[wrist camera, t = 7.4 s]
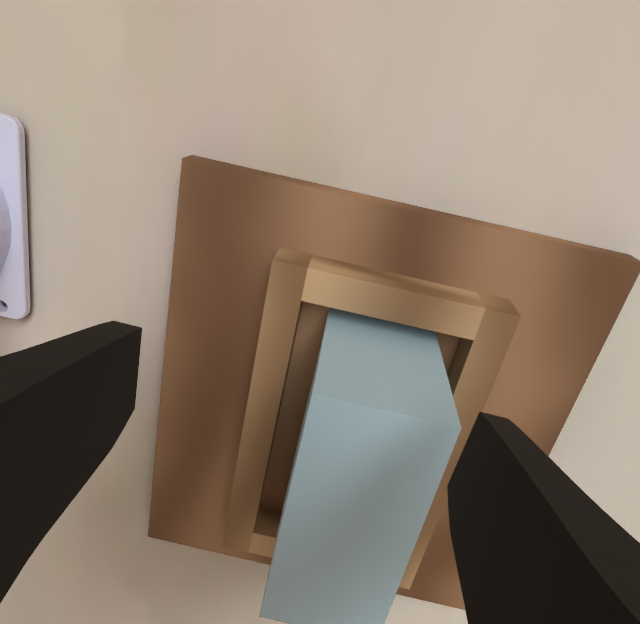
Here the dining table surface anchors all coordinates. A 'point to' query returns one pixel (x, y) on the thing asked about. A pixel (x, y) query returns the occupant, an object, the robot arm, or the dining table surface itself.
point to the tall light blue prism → (361, 472)
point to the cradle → (362, 298)
